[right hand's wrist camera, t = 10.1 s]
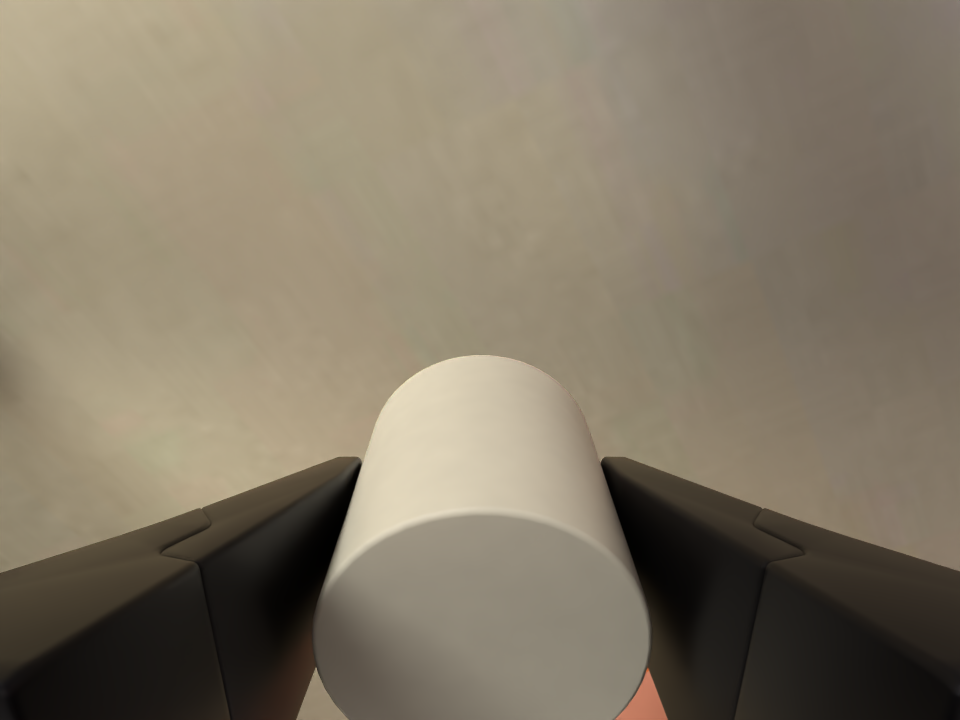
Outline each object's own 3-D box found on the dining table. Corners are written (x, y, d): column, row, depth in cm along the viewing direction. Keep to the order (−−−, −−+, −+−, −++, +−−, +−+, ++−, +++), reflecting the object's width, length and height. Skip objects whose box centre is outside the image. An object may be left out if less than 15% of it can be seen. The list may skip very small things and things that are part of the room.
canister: (356, 523, 13) (291, 744, 8) (392, 331, 11) (335, 477, 7) (558, 561, 13) (596, 792, 9) (618, 379, 12) (704, 548, 7)
